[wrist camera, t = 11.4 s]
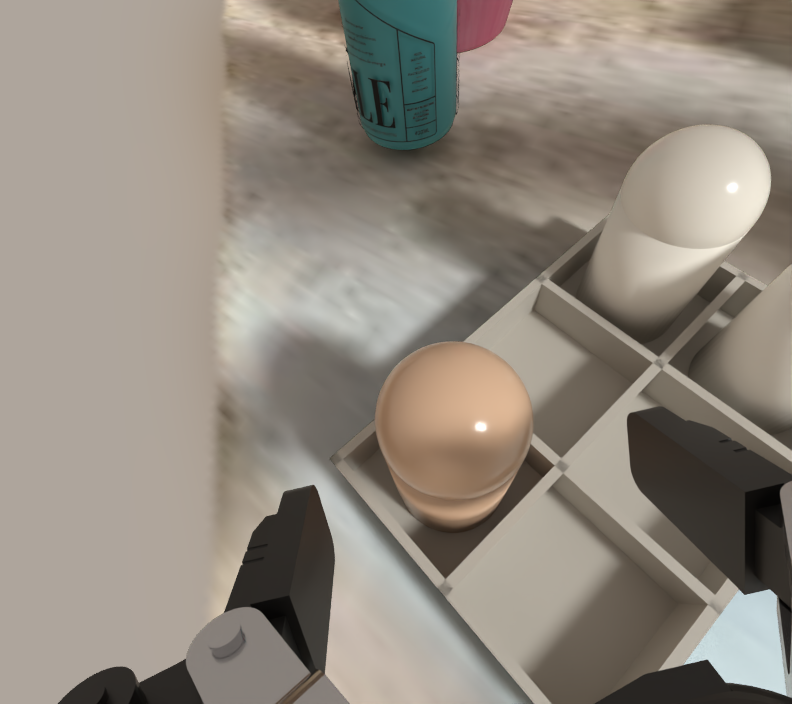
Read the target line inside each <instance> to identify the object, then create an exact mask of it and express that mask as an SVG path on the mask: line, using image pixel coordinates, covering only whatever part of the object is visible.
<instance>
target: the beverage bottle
mask: <svg viewBox="0 0 792 704" xmlns="http://www.w3.org/2000/svg"><path fill="white" fill-rule="evenodd" d="M338 2H339V7H340V13H341V18H342V23H343V26H342V27H343V28H344V34H345V39H346V44H347V48H346V47H345V48H346V51H347V53H348V55H349V60H350V65H351V71H352V78H353V86H352V90H353V87H354V90H353V95H354V100H355V103H356V102H358V107H357V103H356V108H357V116H358V112H359V113H360V118H361V119H360V120H361V123H362V126H363V127H362V128H363V129H364V130H365V132H366V134H367V135H368V137H369V138H370V139H371V140H373V141H374V142H375V143H377V144H379V145H381V146H383V147H386V148H390V149H396V150H410V149H417V148H421V147H424V146H427V145H430V144H432V143H434V142H436V141H438V140H439V139H441V138H442V137H443V136H444V135H445V134H446V133H447V132H448V131H449V129H450V128H451V126H452V124H453V120H454V117H455V114H457V113H456V96H457V95H456V81H457V75H458V74H457V59H458V58H457V41H458V17H459V16H460V15H459V16H458V13H457V0H338ZM459 10H460V8H459ZM459 22H460V19H459ZM459 32H460V29H459ZM459 34H460V33H459ZM459 42H460V41H459ZM459 45H460V44H459ZM344 46H345V45H344ZM458 62H459V60H458ZM347 65H348V63H347ZM458 66H459V65H458ZM348 70H349V68H348ZM458 72H459V71H458ZM349 75H350V72H349ZM350 80H351V77H350ZM458 82H459V81H458ZM351 85H352V82H351ZM458 88H459V85H458ZM458 92H459V90H458ZM355 94H356V97H357V100H356V99H355ZM458 97H459V94H458ZM458 97H457V99H459V98H458ZM457 103H459V101H458V102H457ZM358 108H359V110H358ZM458 108H459V107H458ZM457 112H458V111H457ZM358 117H359V116H358ZM358 121H359V120H358ZM359 123H360V122H359ZM360 125H361V124H360Z"/></svg>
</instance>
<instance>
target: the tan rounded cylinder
mask: <svg viewBox="0 0 792 704" xmlns="http://www.w3.org/2000/svg"><path fill="white" fill-rule="evenodd" d="M375 428H376V435H377V439H378V443H379V446H380V449H381V451H382V454H383V456H384V458H385V461H386V463H387V465H388V468H389V470H390V472H391V475H392V477H393V479H394V482H395V484H396V487H397V489H398V491H399V494H400V496H401V498H402V501H403V503H404V504H405V506H406V508H407V509H408V511H409V512H410V513H411V514H412V515H413V516H414V517H415V518H416V519H417V520H418V521H419V522H421V523H422V524H424V525H425V526H427V527H429V528H431V529H434V530H437V531H441V532H446V533H459V532H465V531H469V530H472V529H474V528H476V527H478V526H480V525H481V524H483V523H484V522H486V521H487V520H488V519H489V518H490V517H491V516H492V515H493V513H494V512H495V511H496V509H497V508H498V506H499V504H500V502H501V501H502V499H503V497H504V495H505V493H506V492H507V490H508V488H509V486H510V485H511V483H512V481H513V479H514V477H515V476H516V474H517V472H518V470H519V468H520V467H521V465H522V463H523V461H524V459H525V457H526V455H527V453H528V450H529V447H530V444H531V440H532V436H533V428H534V420H533V410H532V404H531V400H530V397H529V394H528V392H527V390H526V387H525V385H524V383H523V382H522V380H521V378H520V377H519V375H518V374H517V373H516V371H515V370H514V369H513V368H512V367H511V366H510V365H509V364H508V363H507V362H506V361H505V360H504V359H502V358H501V357H500V356H498V355H497V354H495V353H493V352H492V351H490V350H488V349H486V348H484V347H481V346H479V345H475V344H472V343H467V342H459V341H447V342H439V343H434V344H431V345H427V346H425V347H422V348H420V349H418V350H416V351H415V352H413V353H411V354H409V355H408V356H407V357H405V358H404V359H403V360H401V361H400V362H399V363H398V364H397V365H396V366H395V367H394V369H393V370H392V371H391V372H390V374H389V375H388V377H387V379H386V380H385V382H384V384H383V386H382V388H381V390H380V393H379V396H378V400H377V404H376V411H375Z"/></svg>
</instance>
